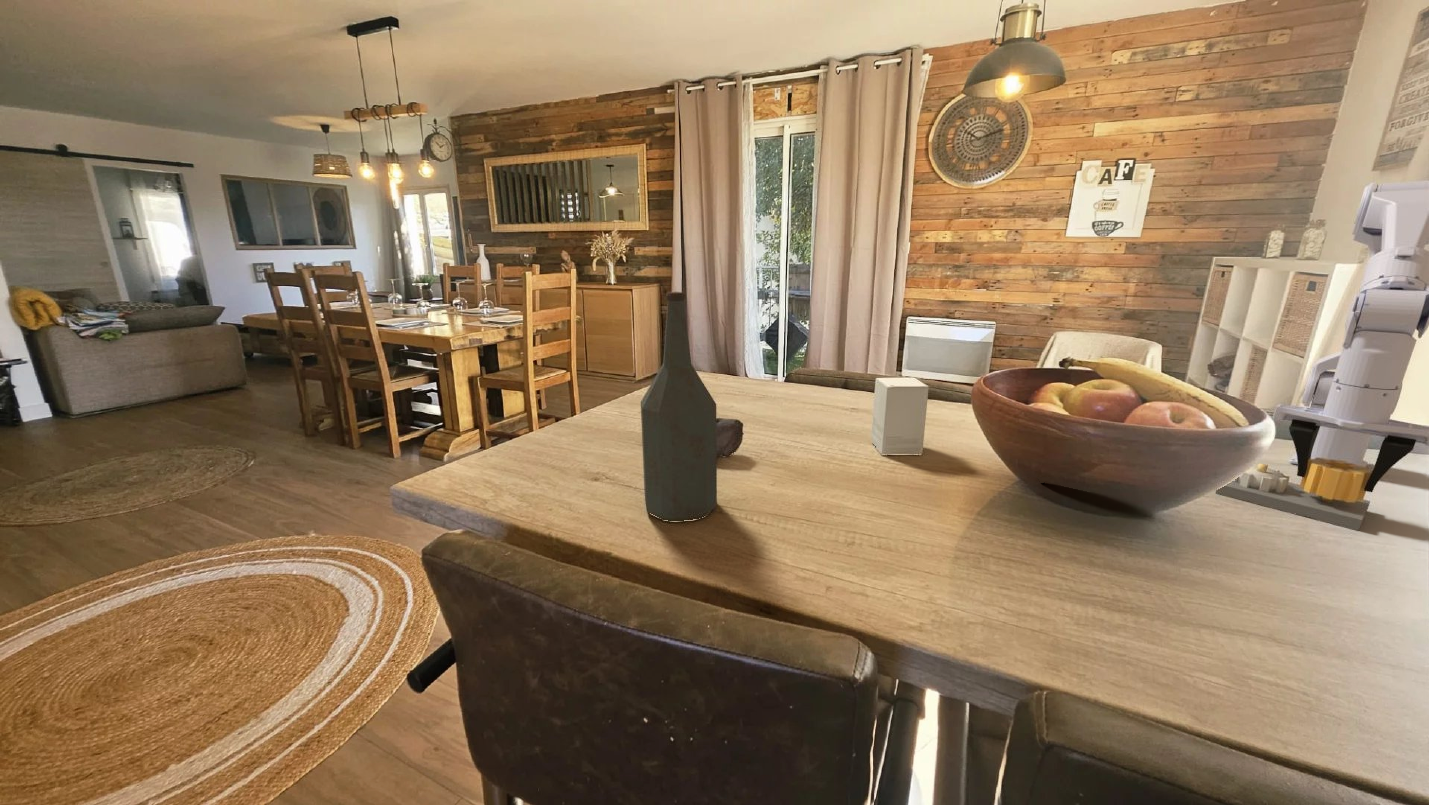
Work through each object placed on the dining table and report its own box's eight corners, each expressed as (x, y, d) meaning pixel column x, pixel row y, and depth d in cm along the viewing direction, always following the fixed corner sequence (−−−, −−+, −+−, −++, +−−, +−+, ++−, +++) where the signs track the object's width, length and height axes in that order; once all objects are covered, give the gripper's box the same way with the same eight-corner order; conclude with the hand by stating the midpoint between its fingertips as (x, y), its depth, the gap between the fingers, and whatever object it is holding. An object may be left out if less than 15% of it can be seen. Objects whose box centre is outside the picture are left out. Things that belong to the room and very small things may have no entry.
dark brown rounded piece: (655, 457, 96) (653, 420, 94) (664, 447, 101) (663, 411, 99) (739, 464, 93) (739, 425, 91) (744, 453, 98) (744, 416, 96)
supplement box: (923, 456, 96) (930, 386, 92) (880, 456, 96) (886, 386, 93) (909, 442, 103) (915, 376, 100) (869, 442, 103) (874, 376, 100)
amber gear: (1304, 480, 78) (1312, 454, 77) (1365, 494, 74) (1374, 467, 73) (1296, 491, 75) (1304, 464, 74) (1360, 506, 71) (1369, 477, 69)
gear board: (1231, 478, 86) (1239, 448, 85) (1366, 511, 75) (1378, 477, 74) (1215, 493, 81) (1223, 461, 79) (1358, 530, 70) (1370, 494, 69)
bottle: (630, 507, 77) (619, 292, 69) (680, 486, 84) (675, 287, 76) (680, 532, 71) (675, 296, 63) (730, 506, 78) (731, 291, 69)
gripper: (1280, 378, 74) (1253, 472, 77) (1457, 401, 62) (1416, 509, 66) (1290, 371, 78) (1265, 460, 81) (1458, 391, 67) (1420, 494, 70)
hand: (1333, 482), depth 74 cm, fingers closed on amber gear, 5 cm apart
